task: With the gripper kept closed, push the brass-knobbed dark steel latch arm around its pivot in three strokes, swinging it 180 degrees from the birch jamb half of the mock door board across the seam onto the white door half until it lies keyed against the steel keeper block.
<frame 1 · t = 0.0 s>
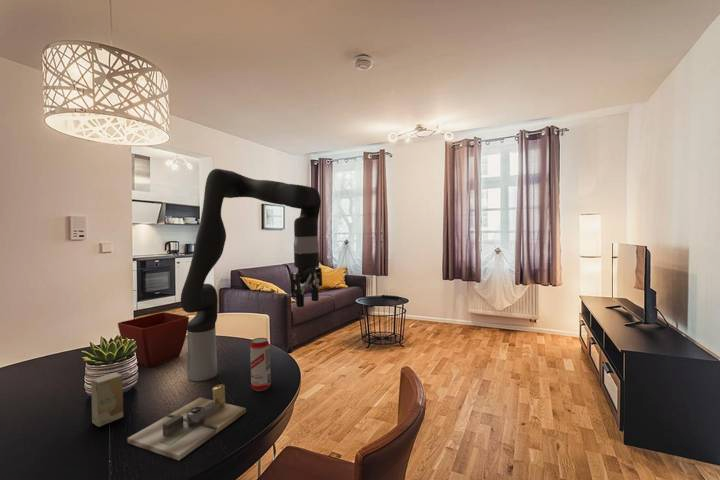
hand: (307, 303, 105), 29 cm above the table, fingers open, 8 cm apart
door board: (191, 426, 92), on the table
latch arm: (206, 403, 94), point 5 cm above the table, hinge at 90.0°
plant pot: (156, 360, 141), on the table
skincare box: (108, 420, 96), on the table
beer can: (261, 388, 114), on the table
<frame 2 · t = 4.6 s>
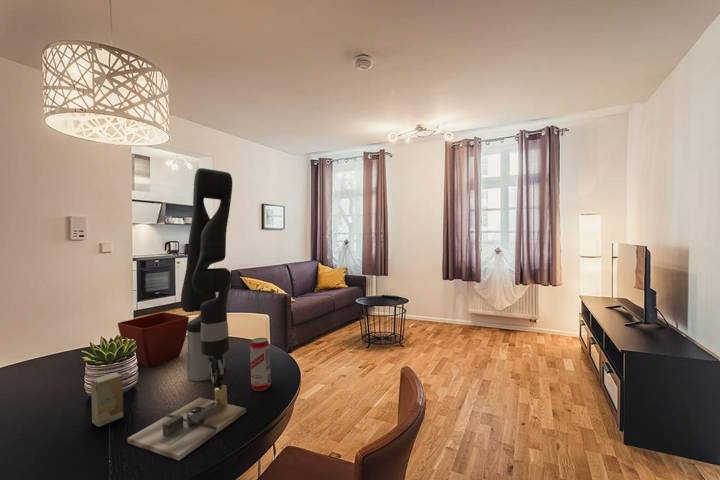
hand: (217, 393, 101), 4 cm above the table, fingers closed
latch arm: (207, 403, 94), point 5 cm above the table, hinge at 84.3°, touching gripper
everything else where it was.
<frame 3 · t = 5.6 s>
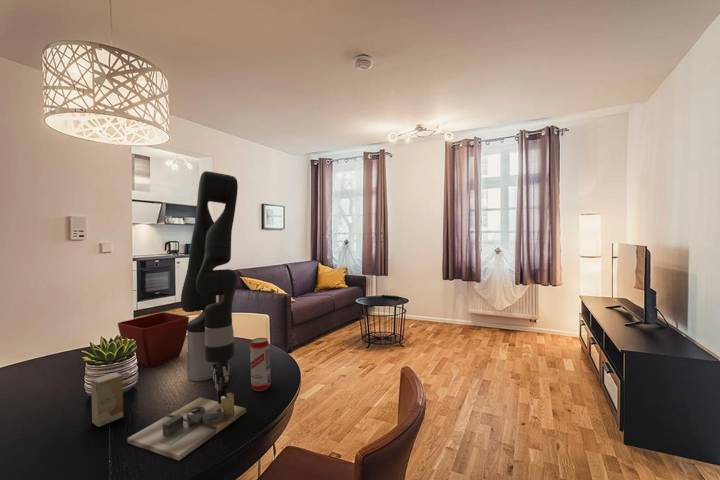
hand: (221, 402, 96), 4 cm above the table, fingers closed
latch arm: (210, 408, 92), point 5 cm above the table, hinge at 37.8°, touching gripper
everything else where it was.
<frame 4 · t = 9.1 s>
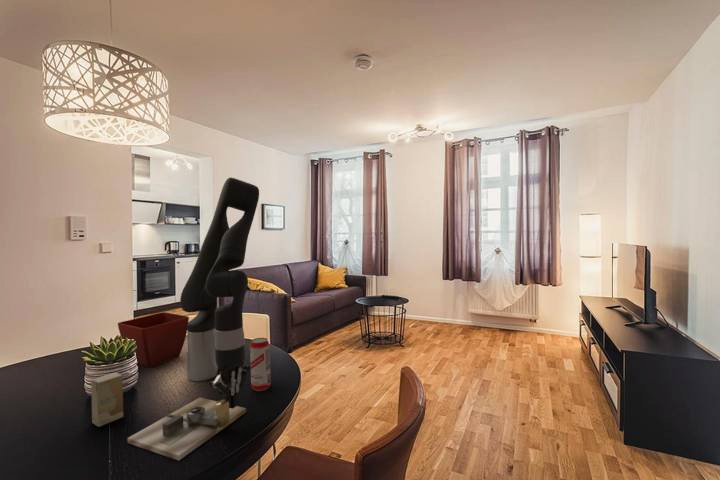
hand: (232, 406, 93), 4 cm above the table, fingers closed
latch arm: (208, 411, 90), point 5 cm above the table, hinge at 11.1°, touching gripper
everything else where it was.
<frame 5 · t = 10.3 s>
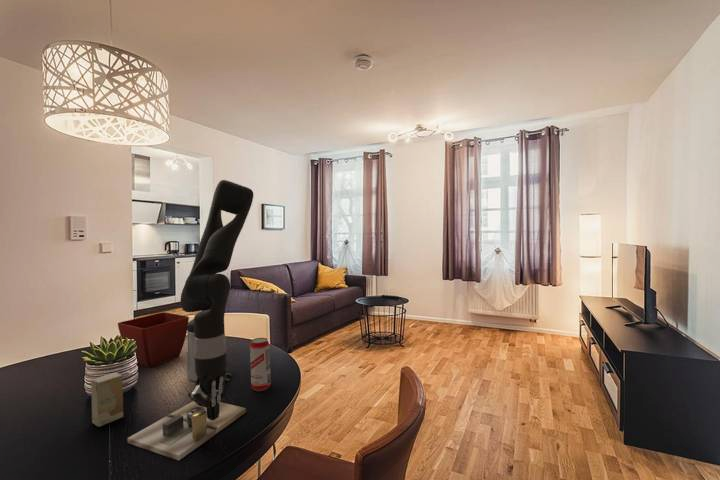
hand: (213, 418, 88), 4 cm above the table, fingers closed
latch arm: (197, 416, 88), point 5 cm above the table, hinge at -35.9°, touching gripper
everything else where it was.
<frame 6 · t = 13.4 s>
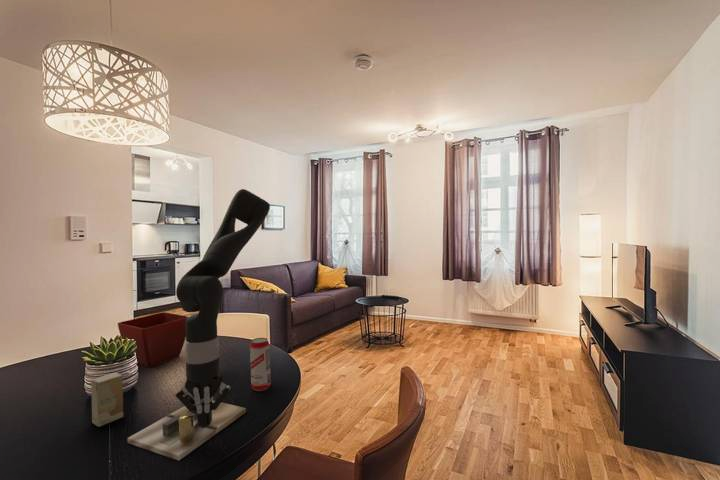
hand: (205, 425, 84), 4 cm above the table, fingers closed
latch arm: (191, 417, 87), point 5 cm above the table, hinge at -56.0°, touching gripper
everything else where it was.
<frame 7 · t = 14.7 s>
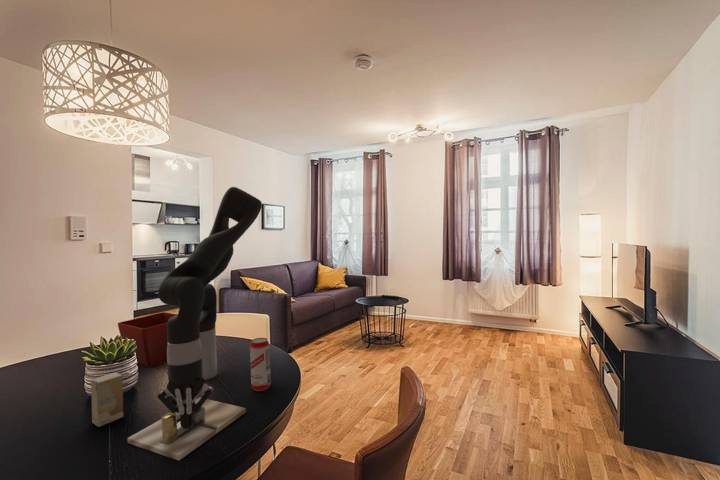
hand: (188, 426, 84), 4 cm above the table, fingers closed
latch arm: (184, 417, 87), point 5 cm above the table, hinge at -87.5°, touching gripper
everything else where it was.
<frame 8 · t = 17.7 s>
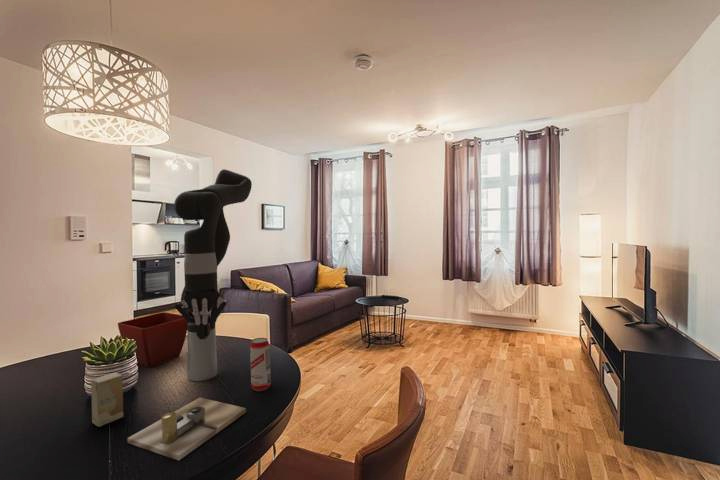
hand: (203, 338, 87), 25 cm above the table, fingers closed
latch arm: (184, 417, 87), point 5 cm above the table, hinge at -87.6°
everything else where it was.
at the end: latch arm at -88° (first picture: +90°) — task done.
